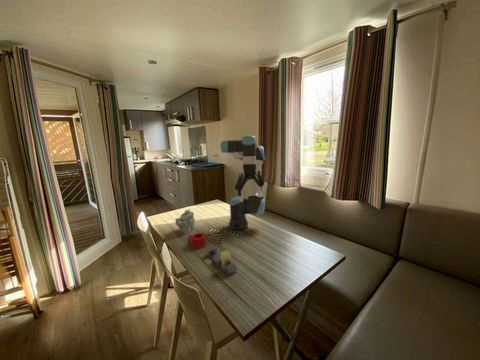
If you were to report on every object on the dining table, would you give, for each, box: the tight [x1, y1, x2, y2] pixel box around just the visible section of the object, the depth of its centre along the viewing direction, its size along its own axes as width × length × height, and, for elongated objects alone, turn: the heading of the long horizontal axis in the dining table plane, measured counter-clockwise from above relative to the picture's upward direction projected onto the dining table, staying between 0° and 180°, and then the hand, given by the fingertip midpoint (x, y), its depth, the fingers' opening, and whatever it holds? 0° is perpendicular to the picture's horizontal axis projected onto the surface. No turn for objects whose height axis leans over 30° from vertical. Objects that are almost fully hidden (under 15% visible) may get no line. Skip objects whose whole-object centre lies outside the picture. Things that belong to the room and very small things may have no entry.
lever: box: [188, 232, 207, 250], centre depth 135 cm, size 18×9×7 cm, turn 37°
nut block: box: [219, 249, 232, 270], centre depth 107 cm, size 4×4×8 cm
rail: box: [206, 246, 237, 276], centre depth 112 cm, size 24×5×4 cm, turn 35°
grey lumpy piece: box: [174, 208, 196, 235], centre depth 151 cm, size 15×14×17 cm
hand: (250, 199), depth 120 cm, fingers open, 13 cm apart
